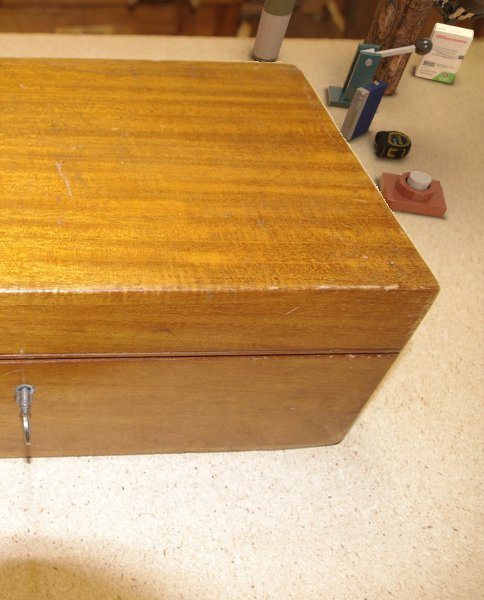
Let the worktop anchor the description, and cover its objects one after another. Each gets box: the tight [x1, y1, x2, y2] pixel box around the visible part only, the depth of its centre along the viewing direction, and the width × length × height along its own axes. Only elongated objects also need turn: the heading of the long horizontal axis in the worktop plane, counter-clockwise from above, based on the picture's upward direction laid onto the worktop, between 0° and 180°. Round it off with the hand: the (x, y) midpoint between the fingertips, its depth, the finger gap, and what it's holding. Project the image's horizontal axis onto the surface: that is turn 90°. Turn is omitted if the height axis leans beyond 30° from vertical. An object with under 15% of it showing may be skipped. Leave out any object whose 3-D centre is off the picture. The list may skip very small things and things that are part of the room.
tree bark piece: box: [362, 0, 434, 97], centre depth 162 cm, size 16×6×25 cm, turn 175°
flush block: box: [378, 171, 448, 218], centre depth 138 cm, size 11×9×4 cm
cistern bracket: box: [327, 42, 382, 109], centre depth 159 cm, size 10×7×13 cm
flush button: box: [406, 170, 433, 190], centre depth 136 cm, size 4×4×2 cm
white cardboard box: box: [414, 22, 475, 84], centre depth 168 cm, size 9×5×12 cm, turn 64°
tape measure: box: [374, 130, 412, 160], centre depth 149 cm, size 7×7×4 cm
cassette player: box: [339, 80, 388, 142], centre depth 150 cm, size 7×2×12 cm, turn 123°
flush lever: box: [360, 37, 433, 57], centre depth 154 cm, size 14×4×4 cm, turn 76°
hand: (448, 20), depth 140 cm, fingers closed
